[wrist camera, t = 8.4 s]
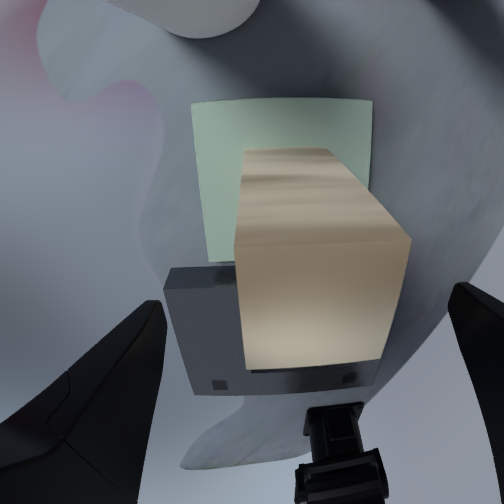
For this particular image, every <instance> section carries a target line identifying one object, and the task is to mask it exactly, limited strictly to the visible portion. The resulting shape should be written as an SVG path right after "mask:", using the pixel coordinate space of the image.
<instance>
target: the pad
mask: <svg viewBox="0 0 504 504" xmlns="http://www.w3.org/2000/svg"><path fill="white" fill-rule="evenodd" d="M191 111H192V122H193V132H194V142H195V152H196V161H197V170H198V179H199V188H200V196H201V204H202V212H203V220H204V228H205V236H206V243H207V250H208V257H209V262H221V261H235V257H234V240H235V230H236V221H237V211H238V202H239V193H240V184H241V175H242V167H243V158H244V149H251V148H274V147H326V148H327V149H328V150H329V151H330V152H331V153H332V154H333V155H334V156H335V157H336V158H337V159H338V160H339V161H340V162H341V163H342V164H343V165H344V166H345V167H346V168H347V169H348V170H349V171H350V172H351V173H352V174H353V175H354V176H355V177H356V178H357V179H358V180H359V181H360V182H361V183H362V184H363V185H364V186H365V187H366V188H367V190H368V183H369V170H370V154H371V134H372V101H369V100H361V99H345V98H320V97H273V98H247V99H231V100H218V101H207V102H197V103H192V104H191Z"/></svg>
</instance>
